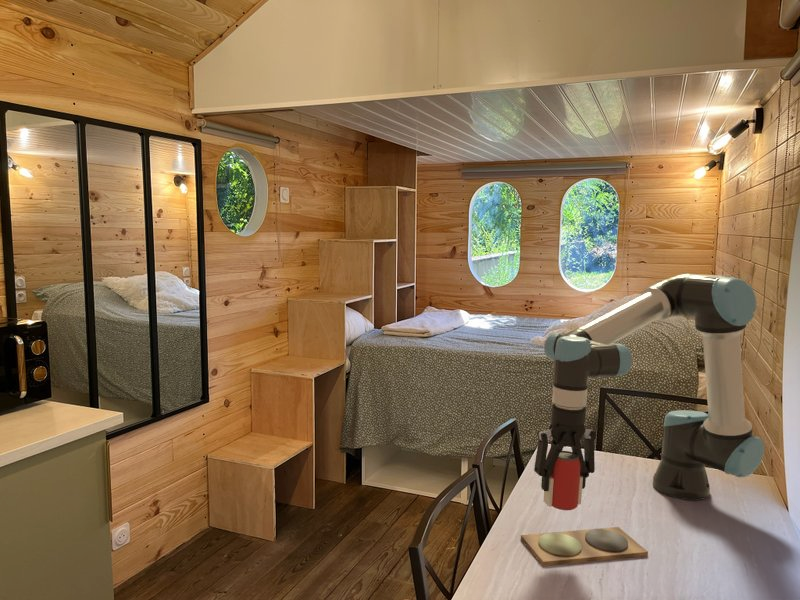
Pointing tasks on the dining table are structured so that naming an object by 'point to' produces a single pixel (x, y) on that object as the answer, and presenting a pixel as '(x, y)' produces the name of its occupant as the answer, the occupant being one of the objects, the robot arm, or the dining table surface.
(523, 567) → the dining table surface
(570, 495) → the beer can
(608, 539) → the seat board
